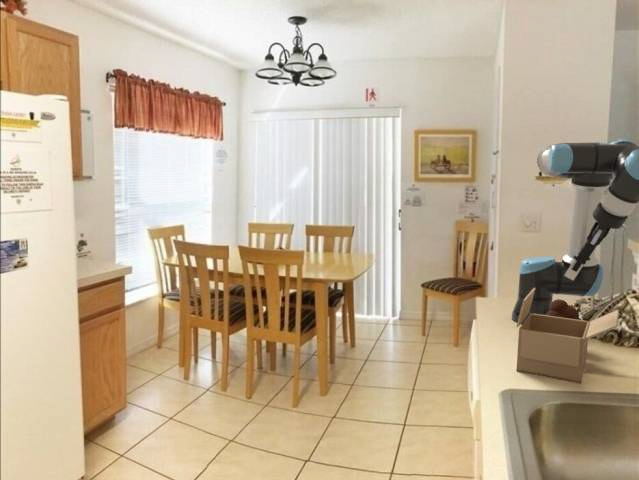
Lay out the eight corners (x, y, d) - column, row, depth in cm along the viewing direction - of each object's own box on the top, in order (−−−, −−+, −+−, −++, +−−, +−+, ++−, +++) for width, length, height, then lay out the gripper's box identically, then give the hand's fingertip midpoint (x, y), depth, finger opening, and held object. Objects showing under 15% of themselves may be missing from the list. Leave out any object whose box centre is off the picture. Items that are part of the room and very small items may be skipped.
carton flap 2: (618, 309, 150) (619, 311, 149) (590, 321, 153) (591, 322, 153) (616, 325, 134) (617, 327, 134) (585, 337, 138) (586, 339, 138)
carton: (528, 351, 164) (530, 313, 162) (586, 361, 156) (589, 321, 154) (515, 371, 147) (518, 329, 146) (580, 384, 139) (584, 339, 138)
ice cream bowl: (542, 351, 164) (545, 303, 162) (541, 340, 175) (544, 295, 173) (580, 355, 161) (584, 306, 159) (577, 344, 171) (580, 298, 169)
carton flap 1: (529, 312, 162) (527, 312, 162) (535, 288, 160) (533, 287, 160) (518, 327, 146) (516, 326, 147) (525, 300, 145) (523, 300, 145)
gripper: (604, 193, 143) (562, 260, 157) (594, 210, 134) (550, 280, 148) (633, 206, 140) (587, 273, 154) (624, 225, 131) (576, 294, 145)
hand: (569, 276), depth 151 cm, fingers closed
